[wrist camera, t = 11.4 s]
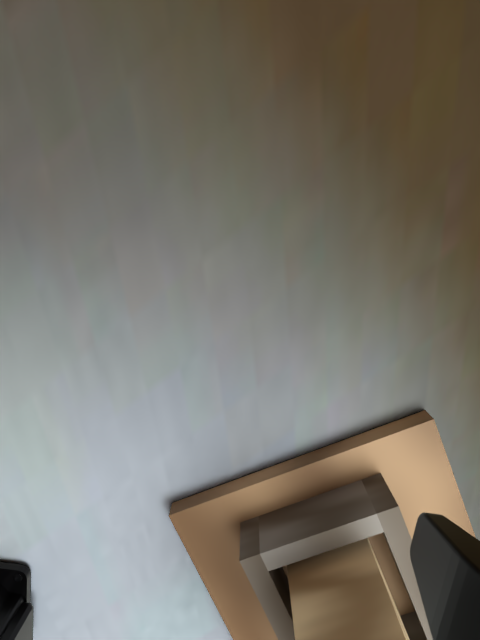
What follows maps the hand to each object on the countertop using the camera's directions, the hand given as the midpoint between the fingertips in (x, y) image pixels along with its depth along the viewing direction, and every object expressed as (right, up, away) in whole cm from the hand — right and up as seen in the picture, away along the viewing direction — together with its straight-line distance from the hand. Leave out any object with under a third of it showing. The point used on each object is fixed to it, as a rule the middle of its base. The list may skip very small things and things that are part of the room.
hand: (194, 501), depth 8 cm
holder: (+6, -9, +14) cm, 18 cm away
